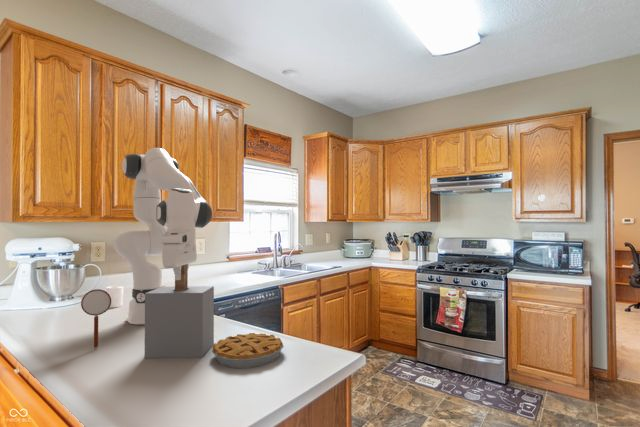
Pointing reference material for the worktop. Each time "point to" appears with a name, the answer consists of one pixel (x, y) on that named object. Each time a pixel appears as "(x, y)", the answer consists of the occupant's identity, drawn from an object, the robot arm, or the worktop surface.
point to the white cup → (115, 295)
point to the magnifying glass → (96, 307)
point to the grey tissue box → (179, 322)
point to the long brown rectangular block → (183, 283)
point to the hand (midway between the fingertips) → (181, 278)
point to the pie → (247, 350)
